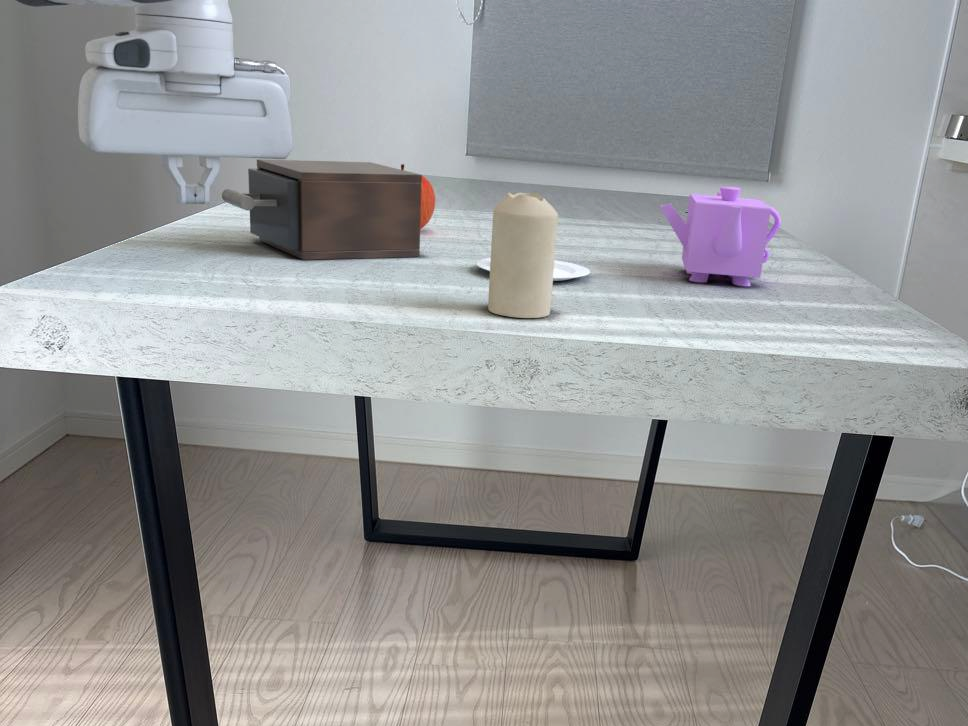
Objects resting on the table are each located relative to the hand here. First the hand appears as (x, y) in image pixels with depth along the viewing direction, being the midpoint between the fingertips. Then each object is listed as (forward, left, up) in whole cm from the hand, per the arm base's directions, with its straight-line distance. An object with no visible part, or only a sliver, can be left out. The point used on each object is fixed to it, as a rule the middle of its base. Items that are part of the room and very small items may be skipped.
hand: (193, 203), depth 107 cm
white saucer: (+30, -18, -5) cm, 35 cm away
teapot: (+50, -24, -5) cm, 56 cm away
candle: (+18, -34, -5) cm, 39 cm away
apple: (+30, +12, -5) cm, 33 cm away
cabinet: (+16, 0, -5) cm, 17 cm away
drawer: (+12, 0, -4) cm, 13 cm away
